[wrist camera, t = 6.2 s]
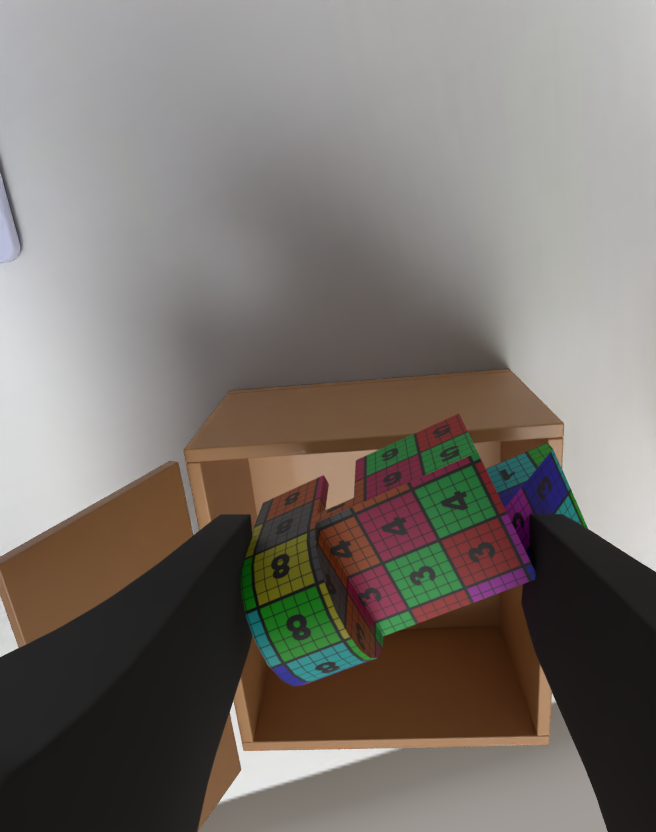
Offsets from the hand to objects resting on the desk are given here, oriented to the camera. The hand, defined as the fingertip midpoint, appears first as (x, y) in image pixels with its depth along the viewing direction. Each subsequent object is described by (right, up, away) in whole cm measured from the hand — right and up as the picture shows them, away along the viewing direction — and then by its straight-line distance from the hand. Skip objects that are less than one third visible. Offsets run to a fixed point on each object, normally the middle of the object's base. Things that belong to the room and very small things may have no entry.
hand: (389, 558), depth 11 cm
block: (+1, 0, +1) cm, 2 cm away
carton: (+1, -1, +10) cm, 10 cm away
